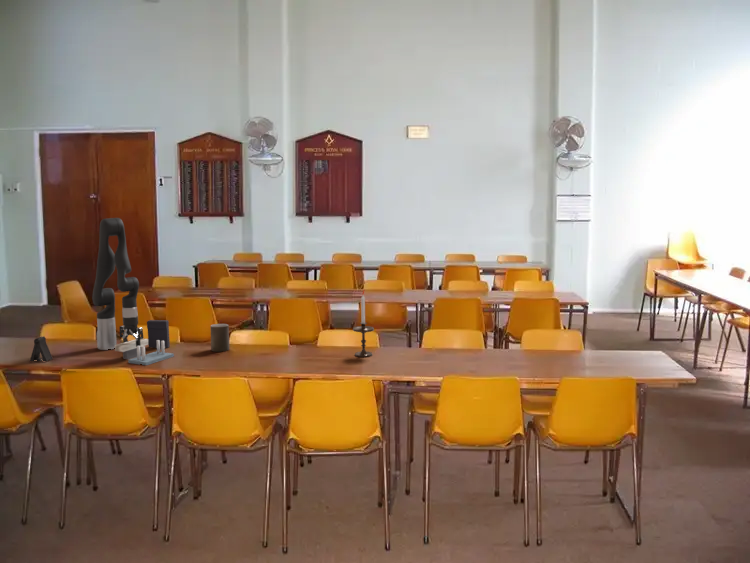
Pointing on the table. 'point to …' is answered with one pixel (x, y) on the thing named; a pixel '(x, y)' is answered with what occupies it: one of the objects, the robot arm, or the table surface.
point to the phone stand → (40, 350)
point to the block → (131, 353)
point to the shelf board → (130, 345)
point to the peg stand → (151, 355)
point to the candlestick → (363, 330)
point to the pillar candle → (219, 337)
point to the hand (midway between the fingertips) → (132, 346)
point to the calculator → (158, 332)
